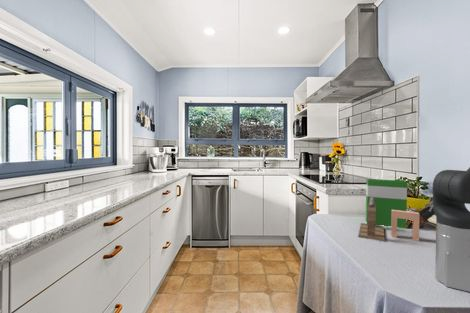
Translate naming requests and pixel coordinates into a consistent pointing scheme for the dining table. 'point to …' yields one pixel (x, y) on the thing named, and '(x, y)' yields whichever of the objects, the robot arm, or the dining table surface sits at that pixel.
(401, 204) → the hardback book
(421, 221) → the tin
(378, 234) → the wooden rack with bar
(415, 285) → the dining table surface
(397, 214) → the pink c-shaped hook
